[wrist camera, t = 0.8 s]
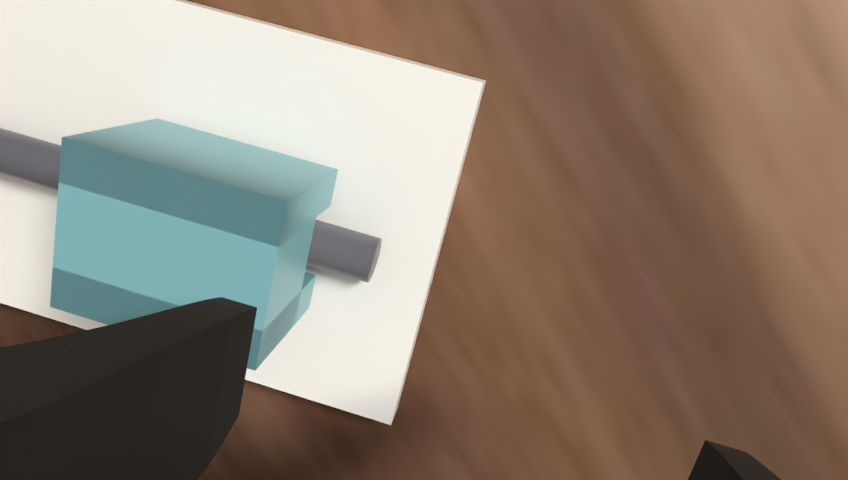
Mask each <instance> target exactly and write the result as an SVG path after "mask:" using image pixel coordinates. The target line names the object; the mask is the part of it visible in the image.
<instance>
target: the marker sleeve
mask: <svg viewBox="0 0 848 480" xmlns="http://www.w3.org/2000/svg"><path fill="white" fill-rule="evenodd" d="M337 172H338V169H335V168H331V167H328V166H324V165H321V164H317V163H314V162H310V161H306V160H303V159H299V158H296V157H292V156H289V155H285V154H282V153H278V152H275V151H271V150H268V149H264V148H261V147H257V146H253V145H250V144H246V143H243V142H239V141H236V140H232V139H229V138H225V137H222V136H218V135H215V134H211V133H208V132H204V131H200V130H197V129H193V128H190V127H186V126H183V125H179V124H176V123H172V122H169V121H165V120H162V119H158V118H157V119H152V120H146V121H141V122H136V123H131V124H126V125H121V126H116V127H111V128H106V129H101V130H95V131H90V132H85V133H80V134H75V135H70V136H65V137H62V142H61V156H60V170H59V184H58V198H57V212H56V227H55V241H54V255H53V269H52V283H51V297H50V307H52V308H55V309H59V310H62V311H65V312H68V313H71V314H75V315H78V316H81V317H84V318H87V319H91V320H94V321H97V322H100V323H103V324H107V325H111V324H115V323H119V322H123V321H127V320H130V319H134V318H138V317H142V316H145V315H149V314H153V313H157V312H160V311H164V310H168V309H171V308H175V307H179V306H182V305H186V304H190V303H194V302H198V301H202V300H207V299H212V298H219V297H223V298H227V299H230V300H233V301H237V302H240V303H244V304H247V305H250V306H254V307H257V312H256V318H255V324H254V329H253V335H252V341H251V347H250V353H249V358H248V364H247V368H248V369H251V370H254V371H256V369H257V368H258V367H259V366H260V365H261V364H262V362H263V361H264V360H265V359H266V358H267V357H268V355H269V354H270V353H271V352H272V351H273V350H274V348H275V347H276V346H277V345H278V344H279V343H280V341H281V340H282V339H283V338H284V337H285V336H286V334H287V333H288V332H289V331H290V330H291V329H292V327H293V326H294V325H295V324H296V323H297V322H298V320H299V319H300V318H301V317H302V316H303V315H304V313H305V312H306V311H307V310H308V309H309V306H310V302H311V297H312V292H313V287H314V282H315V278H316V275H314V274H311V273H307V272H305V269H306V265H307V260H308V255H309V250H310V245H311V240H312V235H313V230H314V225H315V220H316V217H317V216H318V215H320V214H321V213H322V212H323V211H325V210H326V209H327V208H329V207H330V206H331V201H332V196H333V192H334V187H335V182H336V177H337Z"/></svg>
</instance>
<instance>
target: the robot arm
mask: <svg viewBox="0 0 848 480" xmlns="http://www.w3.org/2000/svg"><path fill="white" fill-rule="evenodd" d="M256 312H257V307H254V306H250V305H247V304H244V303H240V302H237V301H233V300H230V299H227V298H223V297H219V298H212V299H207V300H202V301H198V302H194V303H190V304H186V305H182V306H179V307H175V308H171V309H168V310H164V311H160V312H157V313H153V314H149V315H145V316H142V317H138V318H134V319H130V320H127V321H123V322H119V323H115V324H111V325H107V326H103V327H98V328H94V329H90V330H85V331H81V332H76V333H72V334H68V335H63V336H59V337H55V338H50V339H46V340H41V341H35V342H30V343H25V344H19V345H13V346H7V347H1V348H0V480H197V479H198V478H199V476H200V475H201V474H202V473H203V471H204V470H205V469H206V468H207V466H208V465H209V463H210V462H211V460H212V459H213V457H214V455H215V454H216V452H217V451H218V449H219V447H220V446H221V444H222V443H223V441H224V439H225V438H226V436H227V434H228V433H229V431H230V429H231V428H232V426H233V424H234V422H235V421H236V419H237V417H238V416H239V410H240V405H241V399H242V393H243V387H244V382H245V376H246V370H247V364H248V358H249V353H250V347H251V341H252V335H253V329H254V324H255V318H256ZM688 480H780V479H779V478H778V477H777V476H776V475H775V474H773V473H772V472H771V471H770V470H769V469H768V468H766V467H765V466H764V465H763V464H761V463H760V462H759V461H758V460H756V459H755V458H753V457H752V456H751V455H749V454H748V453H746V452H743V451H740V450H737V449H733V448H730V447H727V446H723V445H720V444H716V443H713V442H710V441H706V440H705V443H704V445H703V447H702V449H701V452H700V454H699V456H698V458H697V461H696V463H695V465H694V467H693V470H692V472H691V474H690V476H689V479H688Z"/></svg>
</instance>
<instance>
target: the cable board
mask: <svg viewBox="0 0 848 480" xmlns="http://www.w3.org/2000/svg"><path fill="white" fill-rule="evenodd" d="M485 83H486V80H482V79H478V78H475V77H471V76H467V75H463V74H460V73H456V72H452V71H448V70H445V69H441V68H437V67H433V66H430V65H426V64H422V63H419V62H415V61H411V60H407V59H404V58H400V57H396V56H392V55H389V54H385V53H381V52H377V51H374V50H370V49H366V48H362V47H359V46H355V45H351V44H347V43H344V42H340V41H336V40H332V39H329V38H325V37H321V36H317V35H314V34H310V33H306V32H302V31H299V30H295V29H291V28H287V27H284V26H280V25H276V24H272V23H269V22H265V21H261V20H257V19H254V18H250V17H246V16H242V15H239V14H235V13H231V12H227V11H224V10H220V9H216V8H212V7H209V6H205V5H201V4H197V3H194V2H190V1H186V0H0V303H2V304H6V305H9V306H12V307H15V308H18V309H22V310H25V311H28V312H31V313H34V314H38V315H41V316H44V317H47V318H50V319H54V320H57V321H60V322H63V323H66V324H70V325H73V326H76V327H79V328H82V329H85V330H90V329H94V328H98V327H103V326H107V324H103V323H100V322H97V321H94V320H91V319H87V318H84V317H81V316H78V315H75V314H71V313H68V312H65V311H62V310H59V309H55V308H52V307H50V297H51V283H52V269H53V255H54V241H55V227H56V212H57V198H58V184H59V170H60V156H61V142H62V137H65V136H70V135H75V134H80V133H85V132H90V131H95V130H101V129H106V128H111V127H116V126H121V125H126V124H131V123H136V122H141V121H146V120H152V119H157V118H158V119H162V120H165V121H169V122H172V123H176V124H179V125H183V126H186V127H190V128H193V129H197V130H200V131H204V132H208V133H211V134H215V135H218V136H222V137H225V138H229V139H232V140H236V141H239V142H243V143H246V144H250V145H253V146H257V147H261V148H264V149H268V150H271V151H275V152H278V153H282V154H285V155H289V156H292V157H296V158H299V159H303V160H306V161H310V162H314V163H317V164H321V165H324V166H328V167H331V168H335V169H338V172H337V177H336V182H335V187H334V192H333V196H332V201H331V206H330V207H329V208H327V209H326V210H325V211H323V212H322V213H321V214H320V215H318V216H317V217H316V220H315V225H314V230H313V235H312V240H311V245H310V250H309V255H308V260H307V265H306V269H305V272H307V273H311V274H314V275H316V278H315V282H314V287H313V292H312V297H311V302H310V306H309V309H308V310H307V311H306V312H305V313H304V315H303V316H302V317H301V318H300V319H299V320H298V322H297V323H296V324H295V325H294V326H293V327H292V329H291V330H290V331H289V332H288V333H287V334H286V336H285V337H284V338H283V339H282V340H281V341H280V343H279V344H278V345H277V346H276V347H275V348H274V350H273V351H272V352H271V353H270V354H269V355H268V357H267V358H266V359H265V360H264V361H263V362H262V364H261V365H260V366H259V367H258V368H257V369H256V371H254V370H251V369H248V368H247V370H246V376H245V380H248V381H252V382H255V383H258V384H261V385H264V386H267V387H271V388H274V389H277V390H280V391H283V392H287V393H290V394H293V395H296V396H299V397H303V398H306V399H309V400H312V401H315V402H319V403H322V404H325V405H328V406H331V407H335V408H338V409H341V410H344V411H347V412H350V413H354V414H357V415H360V416H363V417H366V418H370V419H373V420H376V421H379V422H382V423H386V424H389V425H391V424H392V421H393V419H394V416H395V413H396V411H397V408H398V405H399V401H400V397H401V393H402V390H403V386H404V382H405V379H406V375H407V371H408V368H409V364H410V360H411V356H412V353H413V349H414V345H415V342H416V338H417V334H418V331H419V327H420V323H421V320H422V316H423V312H424V308H425V305H426V301H427V297H428V294H429V290H430V286H431V283H432V279H433V275H434V271H435V268H436V264H437V260H438V257H439V253H440V249H441V246H442V242H443V238H444V235H445V231H446V227H447V223H448V220H449V216H450V212H451V209H452V205H453V201H454V198H455V194H456V190H457V186H458V183H459V179H460V175H461V172H462V168H463V164H464V161H465V157H466V153H467V149H468V146H469V142H470V138H471V135H472V131H473V127H474V124H475V120H476V116H477V113H478V109H479V105H480V101H481V98H482V94H483V90H484V87H485Z"/></svg>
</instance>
